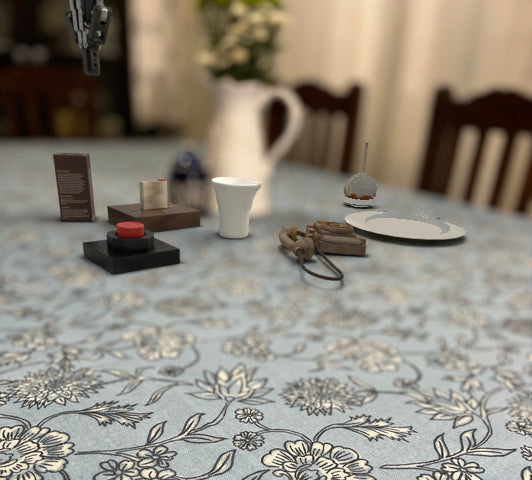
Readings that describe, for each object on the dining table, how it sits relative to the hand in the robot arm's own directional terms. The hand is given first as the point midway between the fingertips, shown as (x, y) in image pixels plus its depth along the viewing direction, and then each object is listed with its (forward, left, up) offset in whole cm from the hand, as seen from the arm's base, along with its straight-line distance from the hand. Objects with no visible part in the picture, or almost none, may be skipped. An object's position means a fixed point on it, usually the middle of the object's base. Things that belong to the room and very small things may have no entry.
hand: (92, 75), depth 86 cm
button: (-6, -22, -21) cm, 31 cm away
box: (-2, +7, -25) cm, 26 cm away
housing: (-6, -22, -25) cm, 34 cm away
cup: (+18, -17, -25) cm, 35 cm away
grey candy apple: (+65, -8, -25) cm, 70 cm away
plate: (+52, -31, -25) cm, 66 cm away
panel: (+9, -3, -25) cm, 27 cm away
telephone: (+23, -35, -25) cm, 49 cm away
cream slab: (+9, -3, -22) cm, 24 cm away
